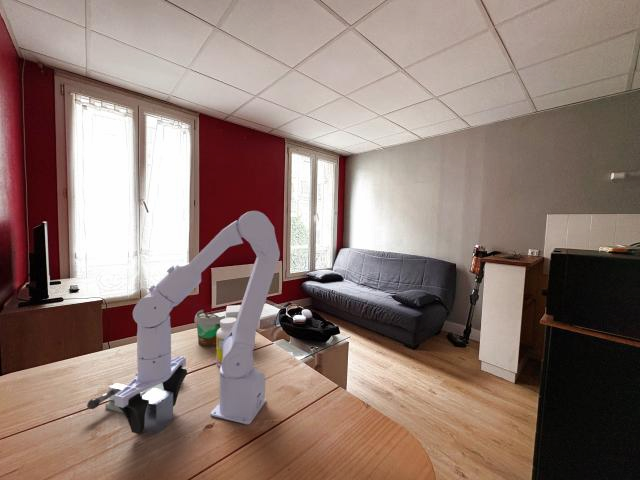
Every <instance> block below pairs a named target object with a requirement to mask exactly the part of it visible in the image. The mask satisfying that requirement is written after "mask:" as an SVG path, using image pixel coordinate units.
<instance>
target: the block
mask: <svg viewBox="0 0 640 480" xmlns="http://www.w3.org/2000/svg"><path fill="white" fill-rule="evenodd" d="M142 399H146V400H149V403H148V405H147V408H146V412H145V424H144V431H143V432H146V433H149V434H152V435H158V434H159V433H160V432H161V431H162V430H164V429H165V428H166V427H167V426H168V425H169V424H170V423H171V422H173V421H174V406H173V392H169V391H165V390H161V389H157V388H153V389H151V390H150V391H148V392H147V393H145V394H144V395H143V396H142Z"/></svg>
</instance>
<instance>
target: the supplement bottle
mask: <svg viewBox="0 0 640 480" xmlns="http://www.w3.org/2000/svg"><path fill="white" fill-rule="evenodd" d="M235 322H236V318H226V317H225V318H224V319H222V320H220V326H221V328H220V329H218V331H217V333H216V346H215V347H216V355H215V356H216V358H215V359H216V361H215V362H216V365H217V366H218V367H219V368H220V367H221V365H222V360H223V350H222V344H223V341H224V339H225V338H226V337H227V336H228V335H229V334H230V332H231V330H232V327H233V325H234V324H235Z"/></svg>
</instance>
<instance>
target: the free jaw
mask: <svg viewBox="0 0 640 480" xmlns="http://www.w3.org/2000/svg"><path fill="white" fill-rule="evenodd" d="M127 385H128V384H127ZM127 385H126V384H122V383H118V382H115V383H114V384H112V385H111V384H110V385H109V386H108V391H107V392H105V393H104V394H102V395H100V396H98V397H94V398H91V399H90V400H89V401H88V402H87V404H86V407H87V408H88V410H95V409H96V408H98V407H99V405H100V404H101V403H103V402H104V401H106V400H107V399H109V401H111V400H114V401H115V397H114V395H116V394H117V393H119V392H120V391H121V390H123V389H124V388H125V387H126V386H127ZM145 393H146V390H145V391H143V392H142V393H141V394H140V396H143V395H144V394H145Z"/></svg>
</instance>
